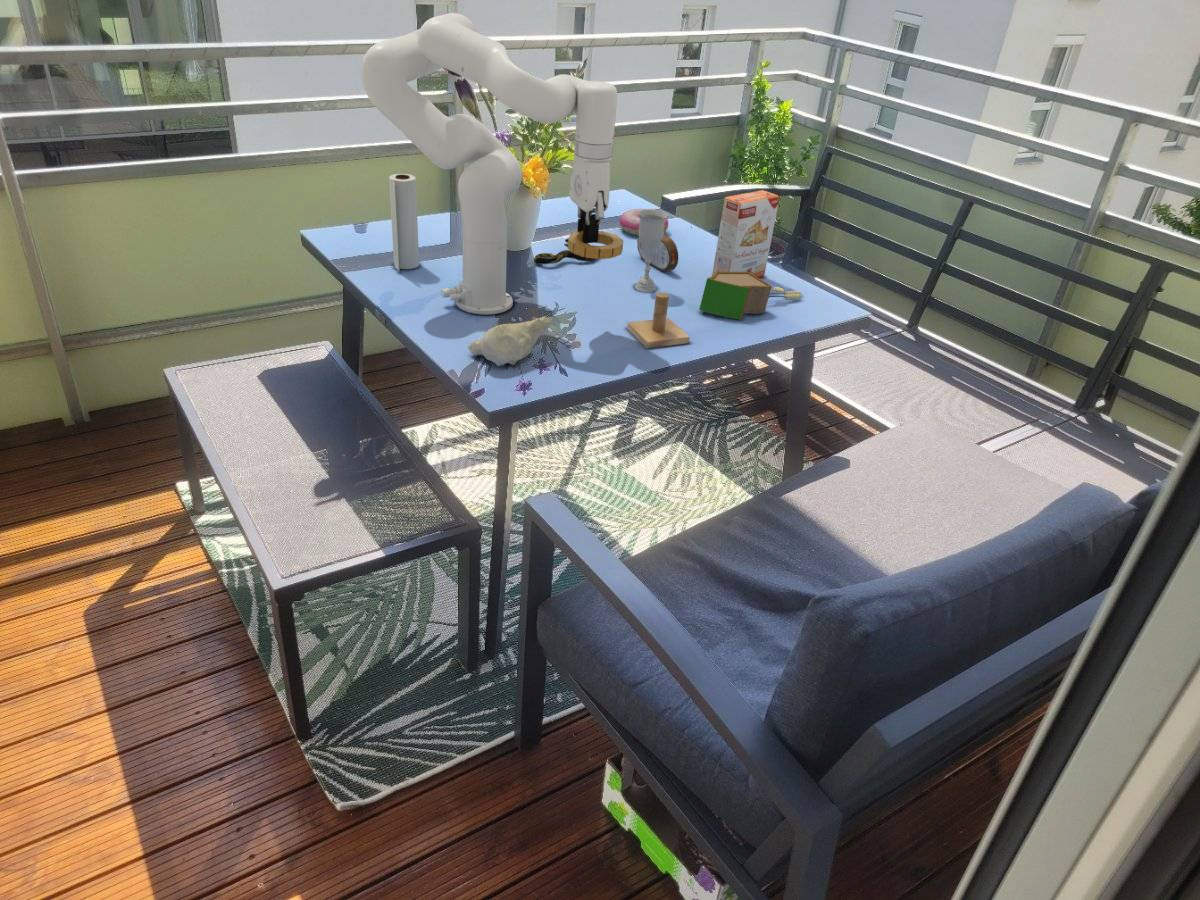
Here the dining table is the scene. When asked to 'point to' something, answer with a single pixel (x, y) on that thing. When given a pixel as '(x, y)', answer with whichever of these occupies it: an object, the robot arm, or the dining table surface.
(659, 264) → the tin
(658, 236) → the chalice
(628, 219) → the donut
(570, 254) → the toy snake
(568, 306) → the dining table surface
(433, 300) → the dining table surface
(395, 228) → the paper towel roll
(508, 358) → the conch shell
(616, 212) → the dining table surface
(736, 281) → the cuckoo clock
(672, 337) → the stand
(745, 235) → the cracker box
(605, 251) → the ring
